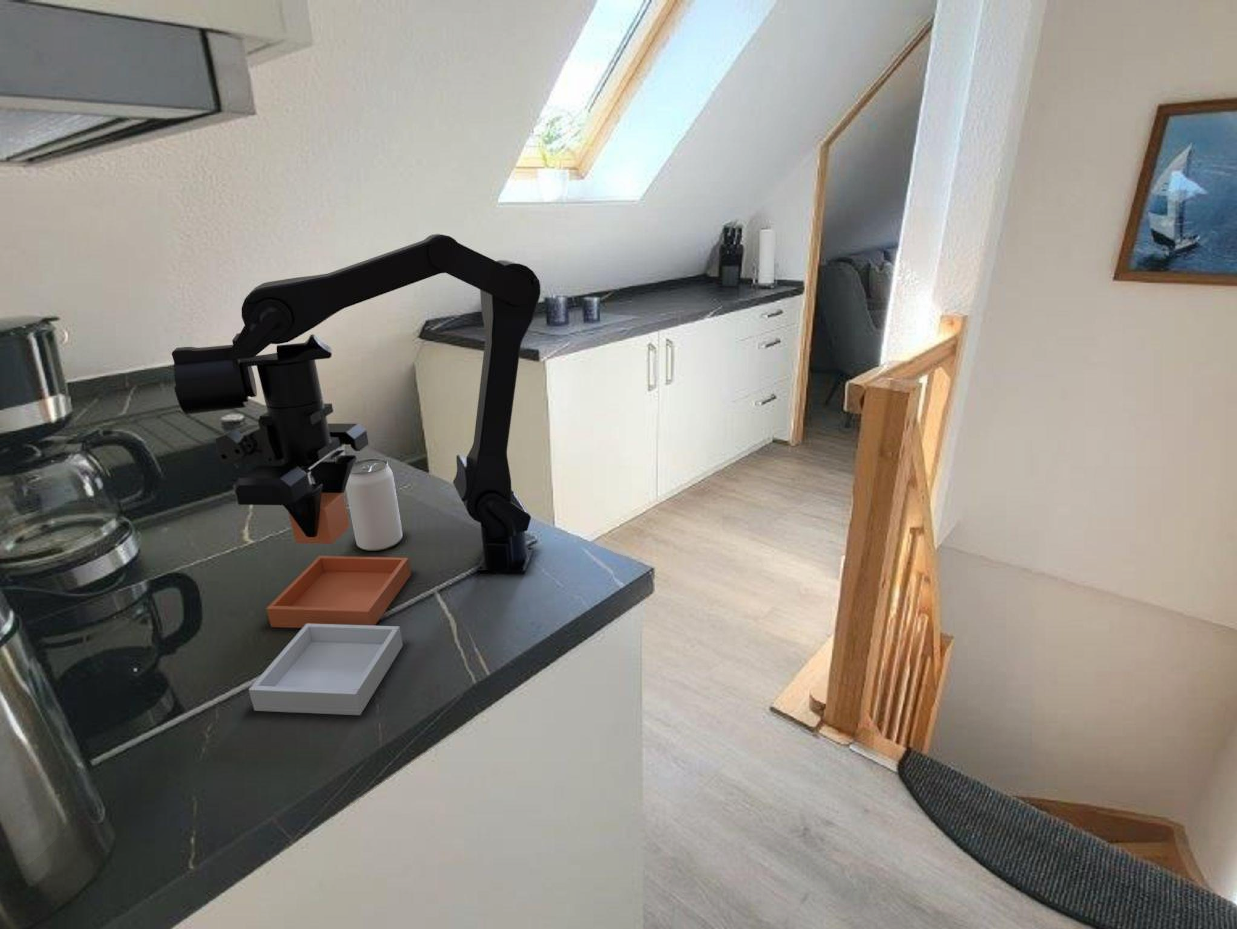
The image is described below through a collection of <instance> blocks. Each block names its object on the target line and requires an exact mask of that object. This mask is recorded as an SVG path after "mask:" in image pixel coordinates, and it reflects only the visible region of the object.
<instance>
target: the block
mask: <svg viewBox="0 0 1237 929" xmlns="http://www.w3.org/2000/svg"><path fill="white" fill-rule="evenodd" d="M348 513H349V512H348V508H347V504H346V499H345V493H344V494H343V493H322V496H321V506H320V516H319V526H318V532H317V536H316V537H307V536H306V535H305V534H304V532H303V531H302V530H301V528H300V527H299V525H298V524H297V523H296V521H295V520H294V519H293V517H292V516H291V514H290V513H289V512H288V516H289V520H290V524H291V529H292V533H293V537H294V541H295V544H324V545H325V544H328V545H329V544H330V545H332V544H334V543H335V542H336V541H337V539H338V538H340V537H341V536H342V535H343V534H344V533H345V532H346V531H347V530H348V529H349V528H350V527H351V523H350V519H349V514H348Z"/></svg>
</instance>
